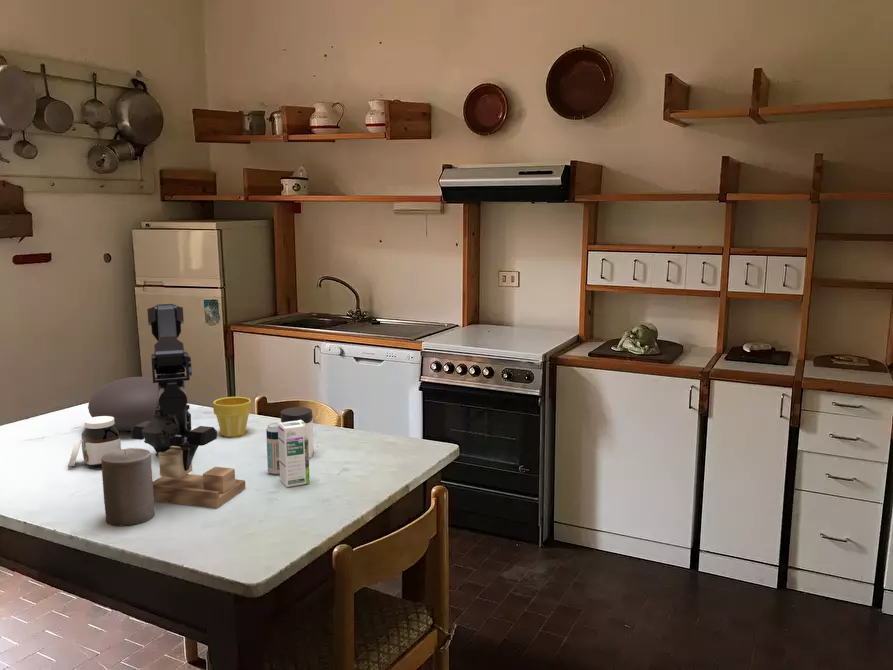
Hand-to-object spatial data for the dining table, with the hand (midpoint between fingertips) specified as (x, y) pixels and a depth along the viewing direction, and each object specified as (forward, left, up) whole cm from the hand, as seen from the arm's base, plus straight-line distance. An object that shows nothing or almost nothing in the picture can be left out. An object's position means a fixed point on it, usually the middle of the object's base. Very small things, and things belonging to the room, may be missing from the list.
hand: (176, 469), depth 173 cm
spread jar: (-31, +10, -6) cm, 33 cm away
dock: (+4, 0, -5) cm, 7 cm away
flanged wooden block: (0, 0, -1) cm, 1 cm away
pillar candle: (-1, -15, -6) cm, 16 cm away
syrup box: (+23, +13, -6) cm, 27 cm away
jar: (+15, +31, -6) cm, 35 cm away
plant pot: (-11, +43, -6) cm, 45 cm away
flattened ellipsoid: (-41, +40, -6) cm, 58 cm away
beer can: (+16, +18, -6) cm, 25 cm away
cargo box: (+11, 0, -3) cm, 12 cm away
